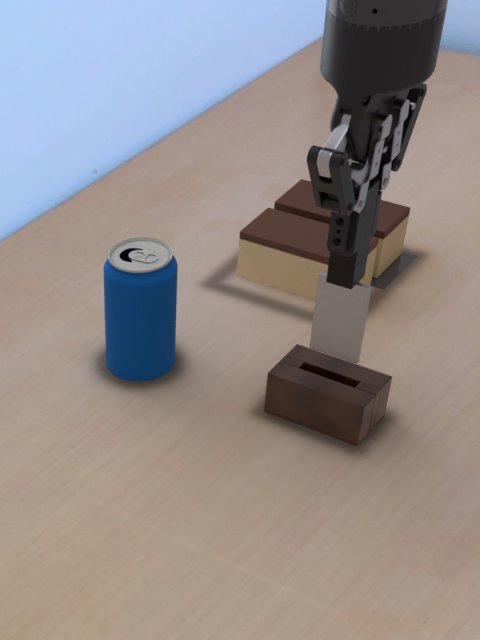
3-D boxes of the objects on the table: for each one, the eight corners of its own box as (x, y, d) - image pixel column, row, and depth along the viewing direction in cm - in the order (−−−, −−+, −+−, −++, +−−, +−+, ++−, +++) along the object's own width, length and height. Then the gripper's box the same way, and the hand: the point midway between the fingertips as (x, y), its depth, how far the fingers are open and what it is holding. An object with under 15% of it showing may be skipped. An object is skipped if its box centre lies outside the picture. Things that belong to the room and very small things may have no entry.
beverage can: (125, 342, 107) (123, 228, 98) (185, 358, 105) (190, 242, 96) (94, 379, 104) (90, 264, 95) (156, 396, 102) (158, 279, 92)
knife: (364, 356, 91) (394, 181, 80) (351, 369, 90) (380, 195, 79) (316, 340, 93) (339, 168, 82) (303, 353, 92) (324, 181, 81)
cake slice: (370, 284, 108) (379, 237, 105) (344, 311, 106) (351, 264, 102) (263, 252, 114) (268, 206, 110) (236, 276, 112) (239, 231, 108)
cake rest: (401, 253, 112) (411, 207, 108) (376, 278, 109) (385, 232, 105) (296, 223, 117) (301, 178, 113) (269, 247, 115) (274, 201, 111)
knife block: (383, 423, 96) (393, 376, 92) (355, 455, 94) (364, 407, 90) (291, 390, 100) (296, 343, 96) (262, 419, 98) (267, 372, 94)
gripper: (391, 48, 66) (351, 302, 79) (489, -32, 72) (438, 215, 86) (280, 28, 70) (260, 274, 83) (383, -47, 76) (349, 192, 89)
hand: (350, 243), depth 84 cm, fingers closed on knife, 2 cm apart
